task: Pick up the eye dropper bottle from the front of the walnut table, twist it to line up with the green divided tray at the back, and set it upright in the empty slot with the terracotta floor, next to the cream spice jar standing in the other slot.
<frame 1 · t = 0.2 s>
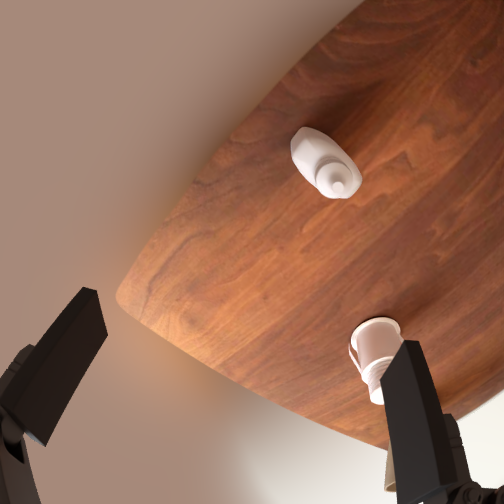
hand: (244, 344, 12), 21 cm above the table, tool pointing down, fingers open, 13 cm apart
downlight: (375, 333, 38), on the table
plant pot: (411, 409, 47), on the table
eye dropper bottle: (318, 150, 27), on the table
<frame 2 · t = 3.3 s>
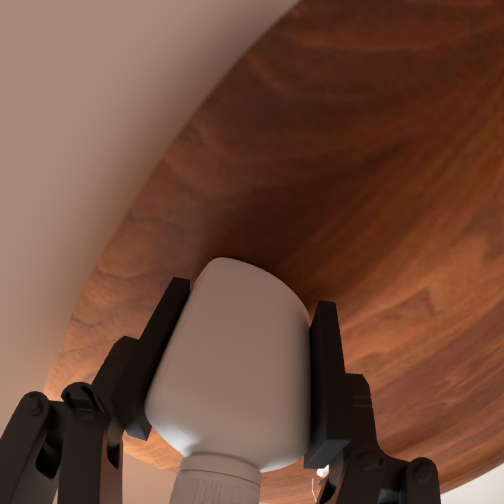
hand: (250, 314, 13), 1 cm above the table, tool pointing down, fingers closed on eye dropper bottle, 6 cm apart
eye dropper bottle: (254, 294, 15), on the table, touching gripper
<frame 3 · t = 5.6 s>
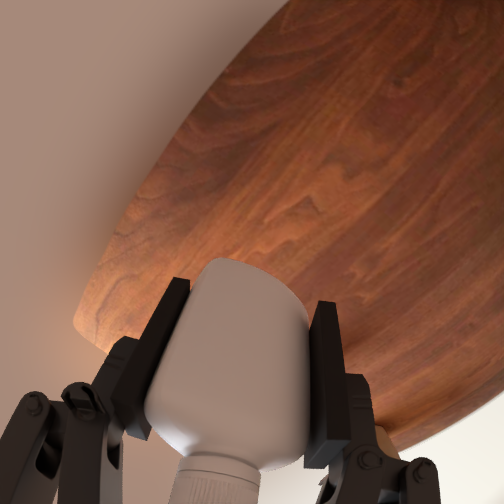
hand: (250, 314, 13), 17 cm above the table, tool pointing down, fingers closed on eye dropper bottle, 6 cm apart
plant pot: (365, 432, 49), on the table
eye dropper bottle: (253, 294, 15), point 15 cm above the table, touching gripper
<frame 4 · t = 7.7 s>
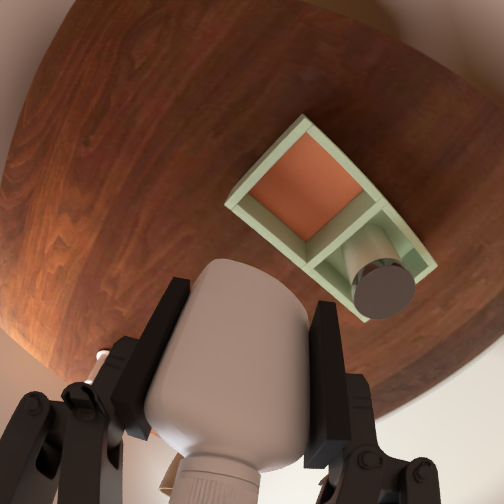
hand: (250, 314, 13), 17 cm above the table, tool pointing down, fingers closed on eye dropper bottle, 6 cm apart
green divided tray: (336, 215, 29), on the table
downlight: (115, 362, 46), on the table
plant pot: (211, 434, 55), on the table
spice jar: (365, 246, 29), point 1 cm above the table, touching green divided tray
eye dropper bottle: (253, 295, 15), point 16 cm above the table, touching gripper
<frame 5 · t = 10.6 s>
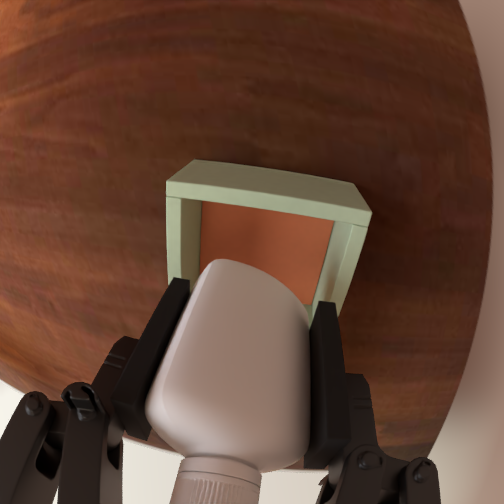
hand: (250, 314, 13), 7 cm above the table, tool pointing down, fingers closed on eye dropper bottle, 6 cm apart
green divided tray: (255, 294, 22), on the table
eye dropper bottle: (253, 295, 15), point 6 cm above the table, touching gripper
when the fingers open (3 cm above the table, at t = 13.3 s): eye dropper bottle stays where it is, resting on green divided tray.
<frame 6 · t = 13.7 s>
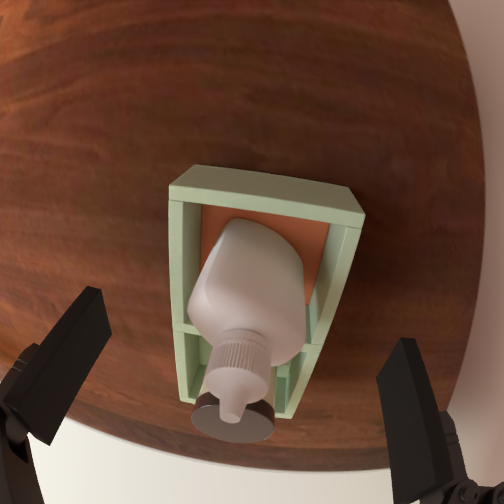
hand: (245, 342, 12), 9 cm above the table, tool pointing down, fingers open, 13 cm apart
green divided tray: (254, 296, 22), on the table
spice jar: (247, 342, 24), point 1 cm above the table, touching green divided tray
eye dropper bottle: (261, 248, 20), point 1 cm above the table, touching green divided tray
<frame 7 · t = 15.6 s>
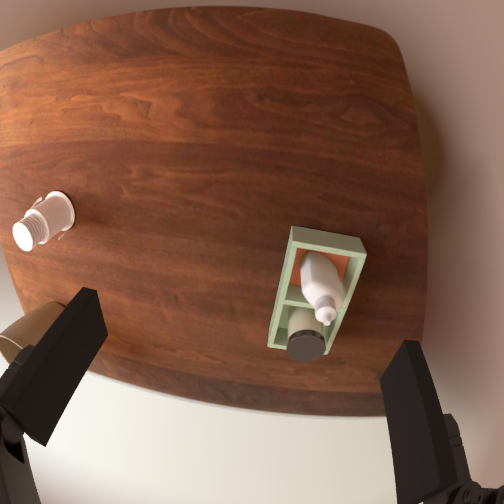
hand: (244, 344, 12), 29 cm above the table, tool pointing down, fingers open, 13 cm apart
green divided tray: (311, 287, 44), on the table
downlight: (61, 209, 43), on the table
plant pot: (61, 314, 56), on the table
spice jar: (304, 311, 46), point 1 cm above the table, touching green divided tray
eye dropper bottle: (318, 264, 42), point 1 cm above the table, touching green divided tray
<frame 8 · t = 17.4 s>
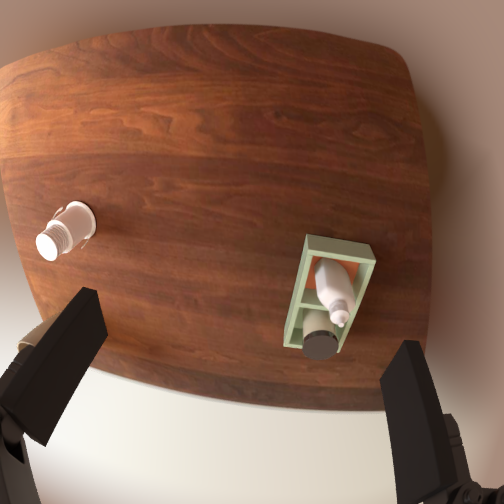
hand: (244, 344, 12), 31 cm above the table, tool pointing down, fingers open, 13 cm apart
green divided tray: (324, 290, 47), on the table
downlight: (81, 219, 46), on the table
plant pot: (80, 318, 59), on the table
spice jar: (317, 313, 49), point 1 cm above the table, touching green divided tray
eye dropper bottle: (331, 269, 44), point 1 cm above the table, touching green divided tray
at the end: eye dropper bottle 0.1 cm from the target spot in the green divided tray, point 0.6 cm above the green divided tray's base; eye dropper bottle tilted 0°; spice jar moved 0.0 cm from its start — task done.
